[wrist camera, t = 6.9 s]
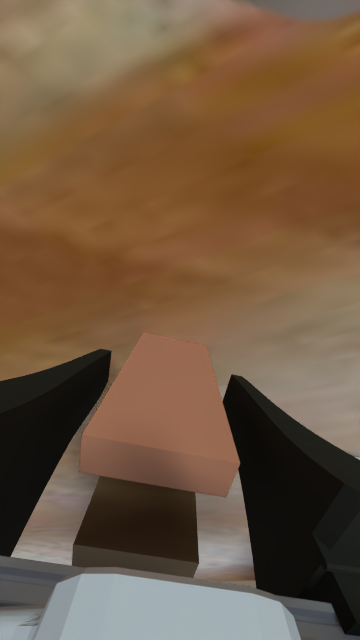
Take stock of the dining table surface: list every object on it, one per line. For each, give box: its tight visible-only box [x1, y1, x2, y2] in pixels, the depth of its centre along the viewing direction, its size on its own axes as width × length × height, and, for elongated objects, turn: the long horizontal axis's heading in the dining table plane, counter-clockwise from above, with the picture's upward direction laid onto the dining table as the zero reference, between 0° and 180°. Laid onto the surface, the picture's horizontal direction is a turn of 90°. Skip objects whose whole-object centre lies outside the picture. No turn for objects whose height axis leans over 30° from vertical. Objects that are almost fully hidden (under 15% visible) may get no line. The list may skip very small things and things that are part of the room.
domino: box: [72, 476, 199, 578], centre depth 12 cm, size 2×5×9 cm, turn 78°
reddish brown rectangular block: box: [79, 332, 240, 497], centre depth 10 cm, size 2×5×9 cm, turn 78°
